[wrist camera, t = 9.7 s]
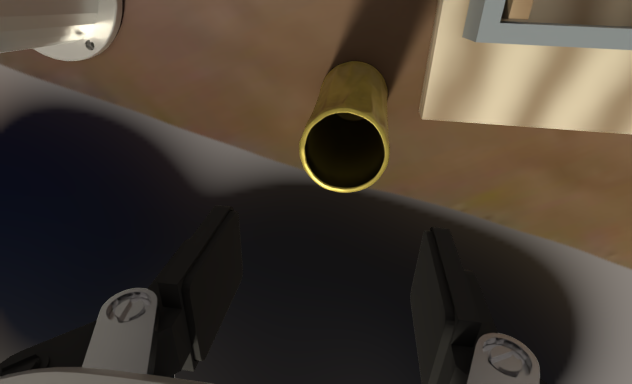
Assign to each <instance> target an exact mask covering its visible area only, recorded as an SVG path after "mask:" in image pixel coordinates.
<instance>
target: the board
mask: <svg viewBox="0 0 632 384" xmlns="http://www.w3.org/2000/svg"><path fill="white" fill-rule="evenodd" d="M469 2H470V0H438V2H437V8H436V13H435V19H434V25H433V31H432V37H431V42H430V48H429V54H428V60H427V65H426V71H425V77H424V83H423V89H422V94H421V100H420V106H419V113H420V116H421V118H422V119H427V120H441V121H455V122H468V123H482V124H496V125H510V126H524V127H538V128H552V129H565V130H579V131H593V132H607V133H621V134H632V50H618V49H598V48H579V47H559V46H539V45H520V44H500V43H480V42H474V41H471V40H469V39H466V38H464V37H462V35H463V31H464V26H465V21H466V16H467V11H468V7H469ZM501 21H514V22H536V23H559V24H581V25H604V26H626V27H632V0H506V1H505V5H504V9H503V13H502V17H501Z"/></svg>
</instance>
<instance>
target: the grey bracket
mask: <svg viewBox="0 0 632 384" xmlns="http://www.w3.org/2000/svg"><path fill="white" fill-rule="evenodd" d="M505 1H506V0H470V2H469V7H468V11H467V16H466V21H465V26H464V31H463V35H462V37H464V38H466V39H469V40H471V41H474V42H480V43H500V44H520V45H539V46H559V47H579V48H598V49H618V50H632V27H626V26H604V25H581V24H559V23H536V22H514V21H501V17H502V13H503V9H504V5H505Z"/></svg>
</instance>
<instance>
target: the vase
mask: <svg viewBox="0 0 632 384" xmlns="http://www.w3.org/2000/svg"><path fill="white" fill-rule="evenodd" d="M387 97H388V90H387V86H386V83H385V81H384V78H383V76H382V75H381V74H380V72H379V71H378V70H377V69H376V68H374V67H373V66H371V65H369V64H367V63H364V62H359V61H351V62H346V63H343V64H340V65H337V66H336V67H335V68H334V69H332V70H331V71H330V72H329V73H328V74H327V76H326V77H325V79H324V81H323V83H322V86H321V90H320V94H319V97H318V100H317V102H316V105H315V108H314V111H313V113H312V115H311V117H310V118H309V120H308V122H307V124H306V126H305V130H304V132H303V135H302V137H301V140H300V142H299V154H300V158H301V161H302V164H303V167H304V169H305V171H306V172H307V174H308V175H309V176H310V178H311V179H313V181H314V182H316V183H317V184H318V185H320V186H321V187H323V188H325V189H328V190H331V191H336V192H344V193H346V192H355V191H359V190H363V189H365V188H367V187H369V186H371V185H372V184H373V183H375V182H376V181H377V180H378V179H379V178H380V176H381V175H382V173H383V172H384V170H385V169H386V167H387V164H388V162H389V153H390V144H389V138H388V119H387Z"/></svg>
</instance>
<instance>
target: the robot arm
mask: <svg viewBox="0 0 632 384" xmlns="http://www.w3.org/2000/svg"><path fill="white" fill-rule="evenodd" d="M121 18H122V0H0V53H3V52H10V51H17V50H24V49H31V48H32V49H34V50H36V51H38V52H40V53H41V54H43V55H46V56H49V57H51V58H54V59H58V60H64V61H79V60H84V59H89V58H92V57H94V56H96V55H98V54H100V53H102V52H103V51H104V50H105V49H107V48H108V47H109V46H110V44H111V43H112V41H113V40H114V39H115V37H116V34H117V32H118V30H119V27H120V23H121ZM242 275H243V266H242V253H241V241H240V227H239V215H238V212H237V211H234V210H233V208H232V207H228V206H218V205H216V206H215V207H214V208H213V209H212V211H211V212H210V213H209V215H208V216H207V218H206V219H205V220H204V221H203V223H202V224H201V225H200V226H199V228H198V229H197V230H196V232H195V233H194V234H193V236H192V237H191V238H190V239H187V240H186V241H184V242H183V244H182V245H181V246H180V248H179V249H178V250H177V251H176V253H175V254H174V255H173V257H172V258H171V259H170V261H169V262H168V263H167V265H166V266H165V267H164V268H163V270H162V271H161V272H160V273H159V275H158V276H157V277H156V279H155V280H154V281H153V283H152V284H151V285H150V286H149V288H148V289H144V288H133V289H129V290H125V291H122V292H120V293H118V294H116V295H114V296H113V297H111V298H110V299H109V300H108V301H107V302H106V303H105V304H104V305H103V306H102V308H101V310H100V313H99V316H98V319H97V320H96V321H94V322H92V323H89V324H87V325H85V326H82V327H79V328H77V329H74V330H72V331H69V332H67V333H65V334H62V335H60V336H57V337H55V338H53V339H50V340H47V341H45V342H42V343H40V344H37V345H35V346H32V347H30V348H28V349H25V350H23V351H20V352H19V353H16V354H14V355H12V356H10V357H9V358H8V359H6V360H5V361H3V362H2V363H0V384H211V383H204V382H197V381H190V380H183V379H177V378H174V377H175V376H174V374H176V373H177V372H179V371H181V370H187V371H194V370H195V368H196V366H197V364H198V362H199V360H200V361H203V360H205V358H206V356H207V354H208V352H209V350H210V347H211V345H212V343H213V341H214V339H215V336H216V334H217V332H218V330H219V328H220V326H221V324H222V321H223V319H224V317H225V315H226V313H227V311H228V308H229V306H230V304H231V302H232V300H233V297H234V295H235V293H236V291H237V289H238V287H239V284H240V282H241V279H242ZM411 308H412V315H413V322H414V330H415V337H416V344H417V352H418V359H419V367H420V374H421V381H422V384H547V383H546V382H544V381H543V380H541V379H540V368H539V363H538V361H537V359H536V358H535V355H534V354H533V353H532V352H531V351H530V350H529V349H528V347H526V346H525V345H524V344H522V343H521V342H520V341H518V340H516V339H514V338H512V337H510V336H507V335H504V334H501V333H498V332H497V330H496V327H495V324H494V322H493V319H492V316H491V314H490V311H489V309H488V306H487V304H486V301H485V298H484V296H483V293H482V291H481V288H480V285H479V283H478V280H477V278H476V275H475V273H474V272H473V271H471V270H464V269H463V267H462V264H461V261H460V258H459V255H458V252H457V249H456V247H455V244H454V241H453V238H452V235H451V232H450V230H449V229H447V228H437V227H431V228H430V231H424V233H423V237H422V242H421V247H420V251H419V256H418V261H417V266H416V270H415V275H414V280H413V284H412V289H411Z"/></svg>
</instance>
